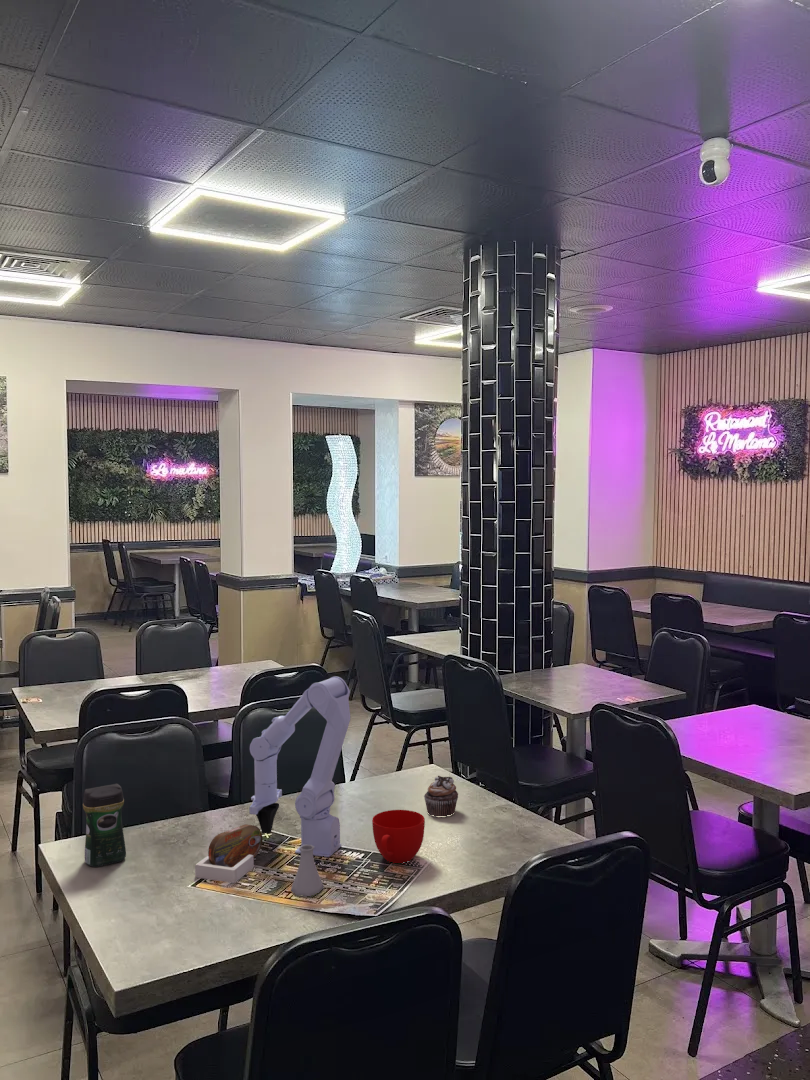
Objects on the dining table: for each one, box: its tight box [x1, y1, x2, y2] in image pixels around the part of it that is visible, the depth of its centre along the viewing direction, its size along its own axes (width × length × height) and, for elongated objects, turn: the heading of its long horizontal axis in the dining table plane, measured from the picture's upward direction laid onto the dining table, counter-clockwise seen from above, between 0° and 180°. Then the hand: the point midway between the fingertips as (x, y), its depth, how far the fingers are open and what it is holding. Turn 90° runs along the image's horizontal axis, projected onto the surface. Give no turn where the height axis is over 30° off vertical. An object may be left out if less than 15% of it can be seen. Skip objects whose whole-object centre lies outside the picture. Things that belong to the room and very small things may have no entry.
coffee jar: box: [82, 783, 127, 868], centre depth 213 cm, size 10×8×19 cm
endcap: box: [194, 855, 255, 884], centre depth 205 cm, size 10×9×3 cm
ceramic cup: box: [371, 809, 426, 864], centre depth 210 cm, size 13×17×10 cm
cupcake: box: [423, 775, 459, 816], centre depth 244 cm, size 10×10×10 cm
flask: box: [290, 844, 325, 897], centre depth 195 cm, size 7×7×10 cm
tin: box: [207, 823, 263, 868], centre depth 211 cm, size 15×3×8 cm, turn 139°
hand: (266, 832), depth 225 cm, fingers closed
